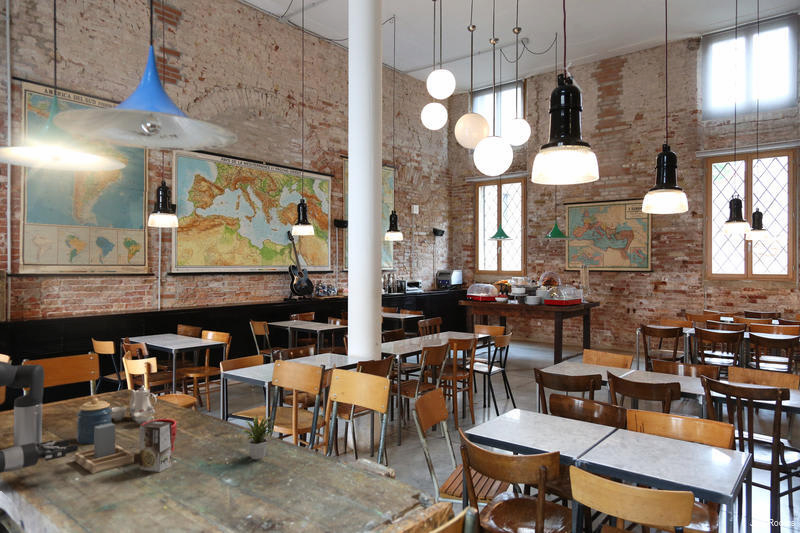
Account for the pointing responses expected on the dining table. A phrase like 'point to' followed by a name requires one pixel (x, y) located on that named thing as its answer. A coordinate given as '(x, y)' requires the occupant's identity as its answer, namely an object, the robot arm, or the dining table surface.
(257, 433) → the house plant
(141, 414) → the chinaware
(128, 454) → the tray
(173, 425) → the plant pot
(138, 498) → the dining table surface
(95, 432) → the gray rectangular block
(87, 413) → the canister
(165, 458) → the coffee box
